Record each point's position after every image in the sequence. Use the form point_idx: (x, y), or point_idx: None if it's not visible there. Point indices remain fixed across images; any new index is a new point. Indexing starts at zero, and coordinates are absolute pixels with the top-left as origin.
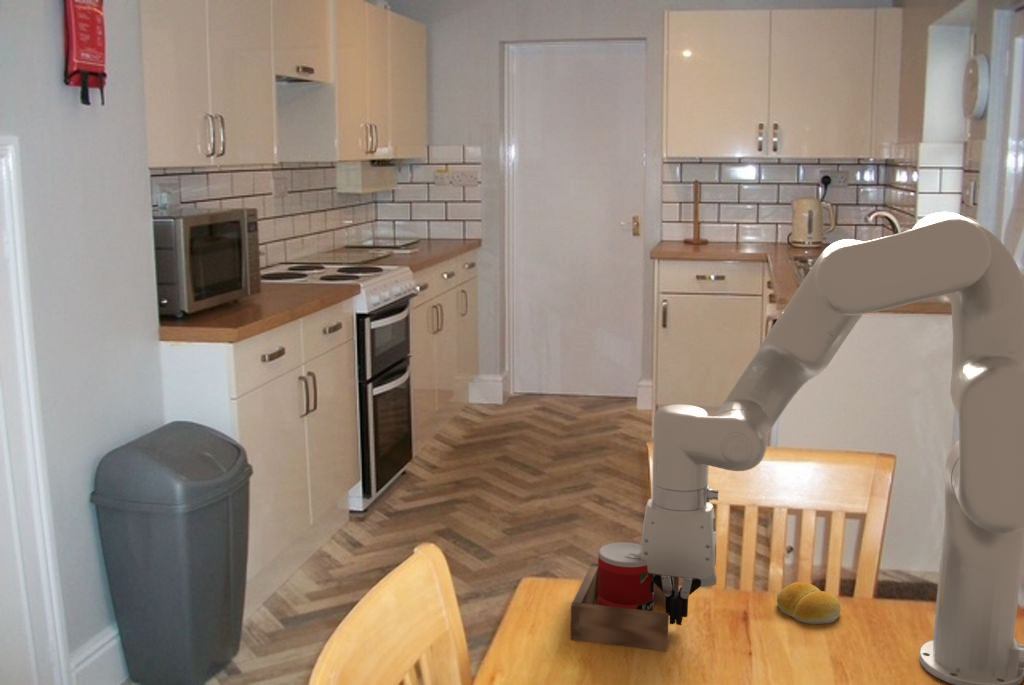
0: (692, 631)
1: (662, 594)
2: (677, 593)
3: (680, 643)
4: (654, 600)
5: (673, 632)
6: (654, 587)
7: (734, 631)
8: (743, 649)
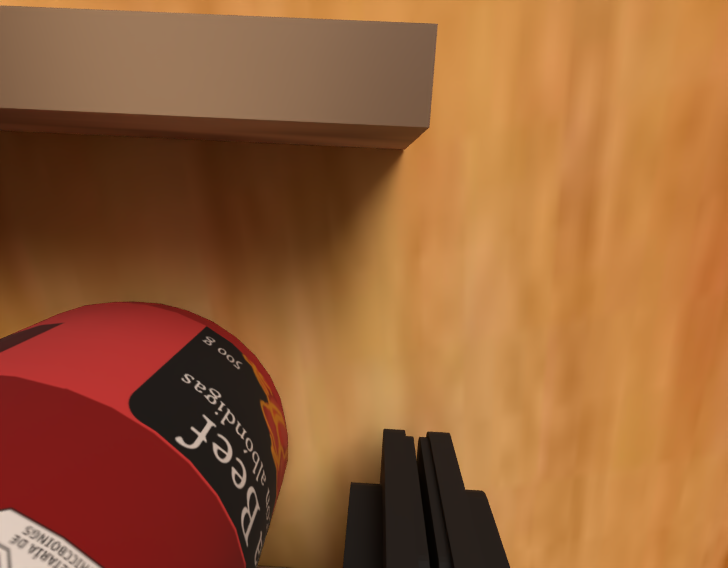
0: (485, 418)
1: (299, 138)
2: (427, 547)
3: None
4: (258, 140)
5: None
6: (224, 132)
7: (700, 380)
8: (707, 536)
